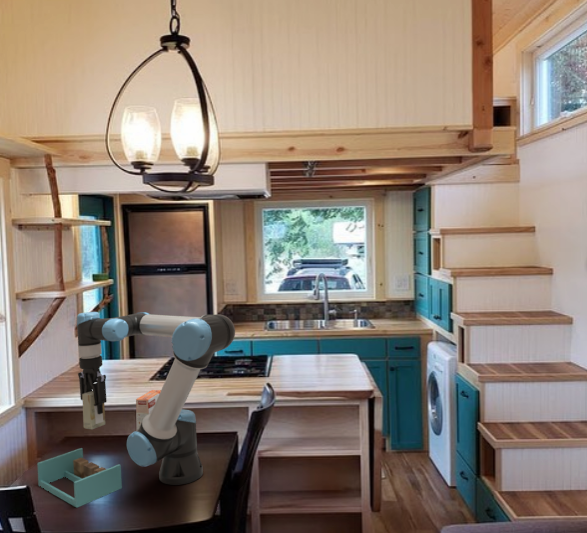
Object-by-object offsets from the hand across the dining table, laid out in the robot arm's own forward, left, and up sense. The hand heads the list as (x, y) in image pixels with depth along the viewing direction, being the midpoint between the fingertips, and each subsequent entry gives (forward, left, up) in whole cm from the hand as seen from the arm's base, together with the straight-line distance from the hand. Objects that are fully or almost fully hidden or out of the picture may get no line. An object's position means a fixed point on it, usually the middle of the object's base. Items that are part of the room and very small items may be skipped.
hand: (94, 421), depth 183 cm
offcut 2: (-9, +3, -20) cm, 22 cm away
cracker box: (+10, -30, -21) cm, 38 cm away
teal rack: (-2, +8, -20) cm, 22 cm away
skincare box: (0, 0, -2) cm, 2 cm away
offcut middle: (-2, +3, -20) cm, 21 cm away
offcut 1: (+5, +3, -20) cm, 21 cm away
